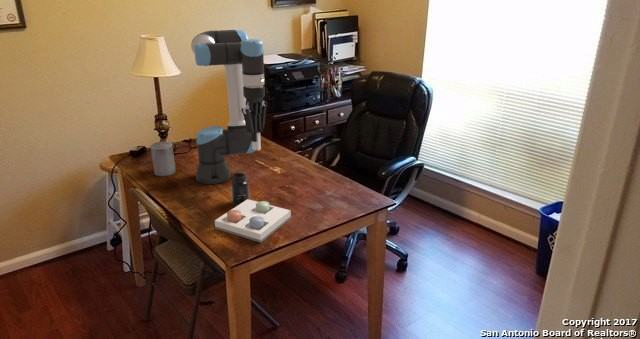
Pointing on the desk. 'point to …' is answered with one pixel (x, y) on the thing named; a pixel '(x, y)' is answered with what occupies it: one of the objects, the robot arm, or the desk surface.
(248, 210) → the console
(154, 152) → the pillar candle
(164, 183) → the desk surface
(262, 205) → the sage button
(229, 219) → the terracotta button
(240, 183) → the supplement bottle
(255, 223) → the slate button
